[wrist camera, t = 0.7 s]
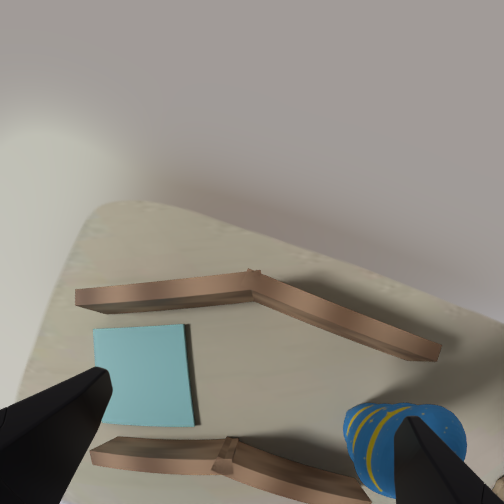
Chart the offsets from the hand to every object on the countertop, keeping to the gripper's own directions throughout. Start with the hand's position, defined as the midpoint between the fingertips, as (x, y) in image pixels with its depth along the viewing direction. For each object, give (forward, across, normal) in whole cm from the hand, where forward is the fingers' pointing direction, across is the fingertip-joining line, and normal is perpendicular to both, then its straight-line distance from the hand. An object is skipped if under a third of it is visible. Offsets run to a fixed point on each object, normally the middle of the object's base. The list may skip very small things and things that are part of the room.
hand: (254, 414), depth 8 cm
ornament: (+11, -8, +12) cm, 18 cm away
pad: (+11, +10, +11) cm, 19 cm away
